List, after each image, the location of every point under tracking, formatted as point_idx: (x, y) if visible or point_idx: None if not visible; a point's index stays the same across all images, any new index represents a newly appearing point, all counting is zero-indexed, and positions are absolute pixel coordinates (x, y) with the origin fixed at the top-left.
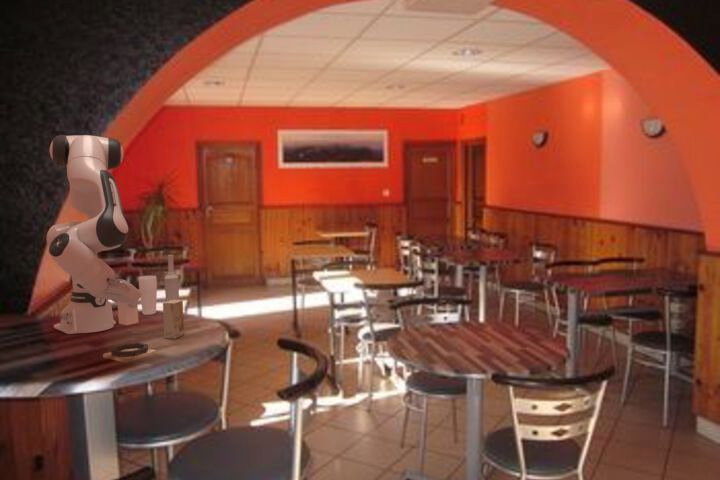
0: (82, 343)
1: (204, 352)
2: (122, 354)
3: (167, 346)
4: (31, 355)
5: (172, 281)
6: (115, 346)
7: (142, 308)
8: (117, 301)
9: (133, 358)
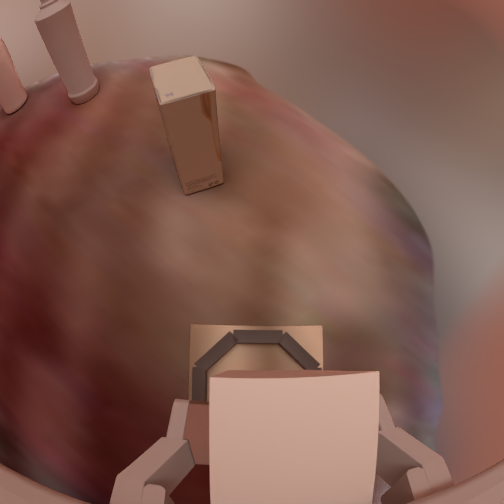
0: (12, 351)
1: (416, 241)
2: None
3: (274, 250)
4: None
5: (62, 16)
6: None
7: (2, 106)
8: (184, 469)
9: None
